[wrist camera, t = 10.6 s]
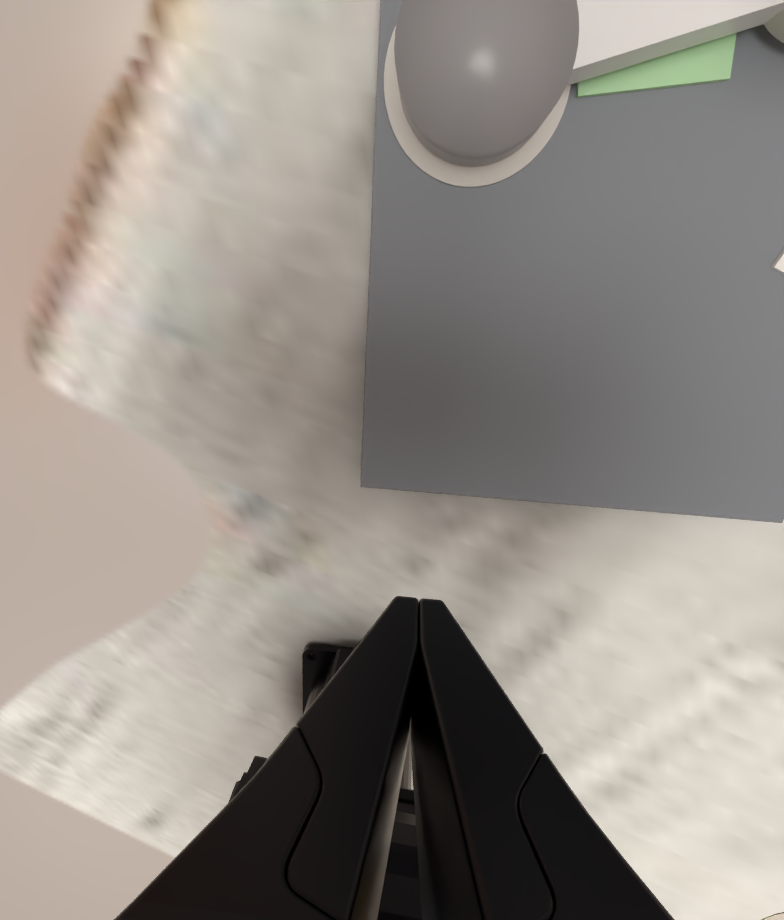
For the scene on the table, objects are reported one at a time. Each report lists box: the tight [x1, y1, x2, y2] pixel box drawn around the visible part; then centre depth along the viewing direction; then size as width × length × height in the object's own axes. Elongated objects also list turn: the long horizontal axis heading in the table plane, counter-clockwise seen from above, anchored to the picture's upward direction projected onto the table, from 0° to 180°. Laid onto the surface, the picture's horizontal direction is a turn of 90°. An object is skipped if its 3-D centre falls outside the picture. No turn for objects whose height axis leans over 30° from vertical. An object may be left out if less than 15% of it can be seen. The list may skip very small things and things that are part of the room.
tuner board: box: [360, 0, 784, 523], centre depth 17 cm, size 23×18×1 cm
